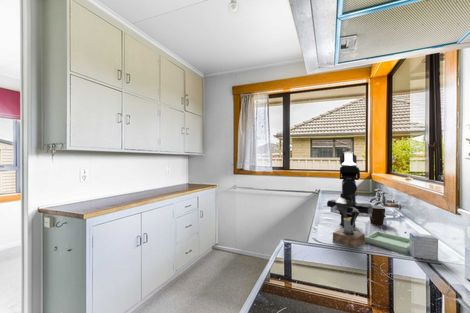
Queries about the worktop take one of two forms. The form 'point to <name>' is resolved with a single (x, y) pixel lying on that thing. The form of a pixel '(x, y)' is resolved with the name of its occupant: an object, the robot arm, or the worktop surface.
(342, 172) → the robot arm
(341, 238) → the brown block with hole
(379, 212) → the coffee mug
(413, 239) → the medicine box
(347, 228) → the pin
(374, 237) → the tray
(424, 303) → the worktop surface
